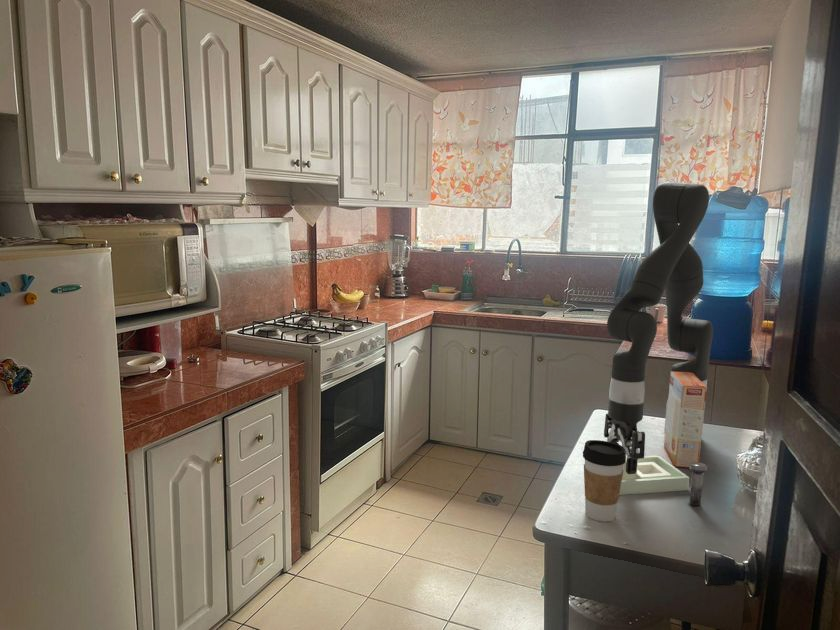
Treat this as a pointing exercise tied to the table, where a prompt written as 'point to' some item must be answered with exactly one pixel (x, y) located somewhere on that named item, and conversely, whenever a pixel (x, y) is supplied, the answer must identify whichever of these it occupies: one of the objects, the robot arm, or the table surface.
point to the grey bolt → (696, 483)
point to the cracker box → (684, 418)
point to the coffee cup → (602, 478)
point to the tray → (656, 480)
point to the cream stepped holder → (645, 471)
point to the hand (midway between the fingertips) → (621, 465)
